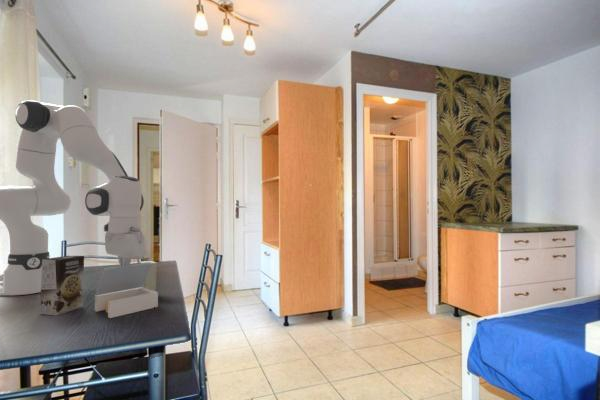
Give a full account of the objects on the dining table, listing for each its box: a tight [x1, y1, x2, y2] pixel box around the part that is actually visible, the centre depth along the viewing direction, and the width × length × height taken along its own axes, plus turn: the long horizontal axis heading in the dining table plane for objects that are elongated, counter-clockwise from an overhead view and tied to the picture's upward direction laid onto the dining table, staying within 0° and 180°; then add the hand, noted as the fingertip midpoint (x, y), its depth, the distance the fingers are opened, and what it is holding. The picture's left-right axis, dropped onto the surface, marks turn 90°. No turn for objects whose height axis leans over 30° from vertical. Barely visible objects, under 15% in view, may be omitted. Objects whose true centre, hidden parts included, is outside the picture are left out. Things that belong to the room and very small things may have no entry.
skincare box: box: [139, 260, 158, 292], centre depth 116 cm, size 6×4×12 cm
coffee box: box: [39, 255, 85, 316], centre depth 100 cm, size 9×6×16 cm
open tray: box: [94, 287, 159, 319], centre depth 102 cm, size 11×14×4 cm
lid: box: [94, 262, 151, 296], centre depth 104 cm, size 10×14×1 cm
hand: (124, 270), depth 104 cm, fingers closed
